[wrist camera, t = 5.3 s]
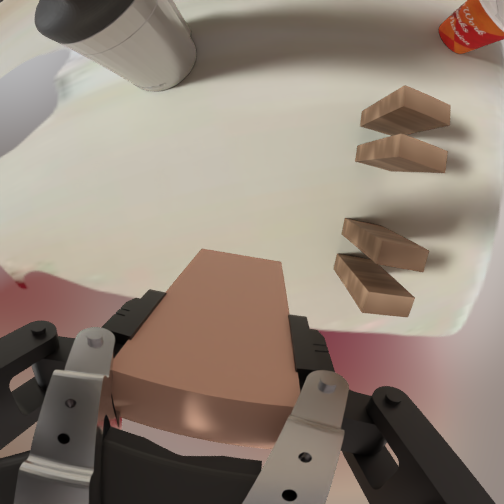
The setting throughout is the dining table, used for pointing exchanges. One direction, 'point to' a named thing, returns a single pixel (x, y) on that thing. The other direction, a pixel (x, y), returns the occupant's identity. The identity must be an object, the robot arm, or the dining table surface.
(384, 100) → the domino
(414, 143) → the domino
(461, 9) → the paper cup
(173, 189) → the dining table surface
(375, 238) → the domino
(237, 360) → the domino
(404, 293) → the domino
